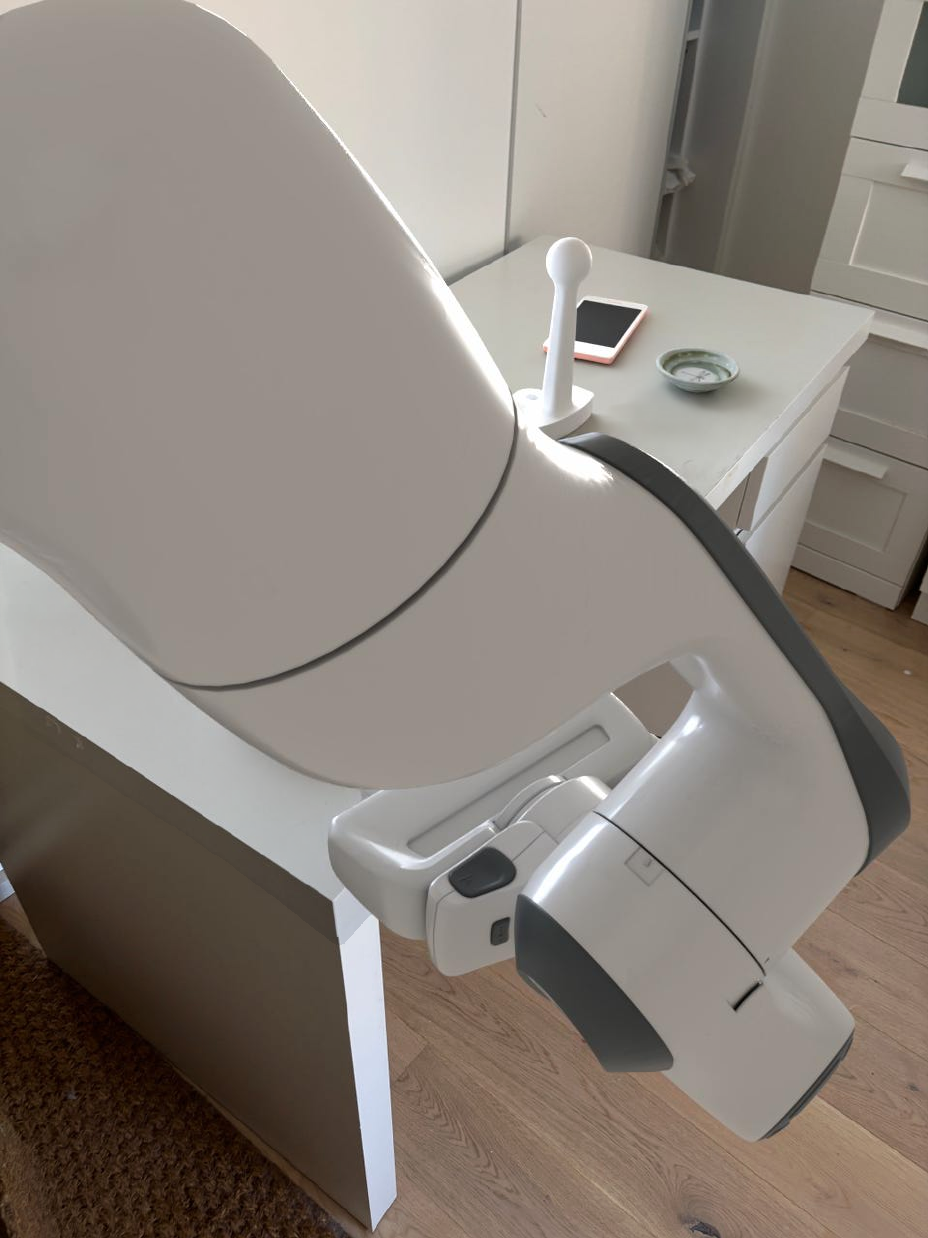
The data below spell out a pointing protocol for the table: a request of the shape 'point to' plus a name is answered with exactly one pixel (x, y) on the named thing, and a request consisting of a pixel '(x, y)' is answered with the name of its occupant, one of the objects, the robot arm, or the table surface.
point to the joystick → (561, 348)
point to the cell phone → (603, 327)
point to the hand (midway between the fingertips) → (416, 714)
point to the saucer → (697, 368)
